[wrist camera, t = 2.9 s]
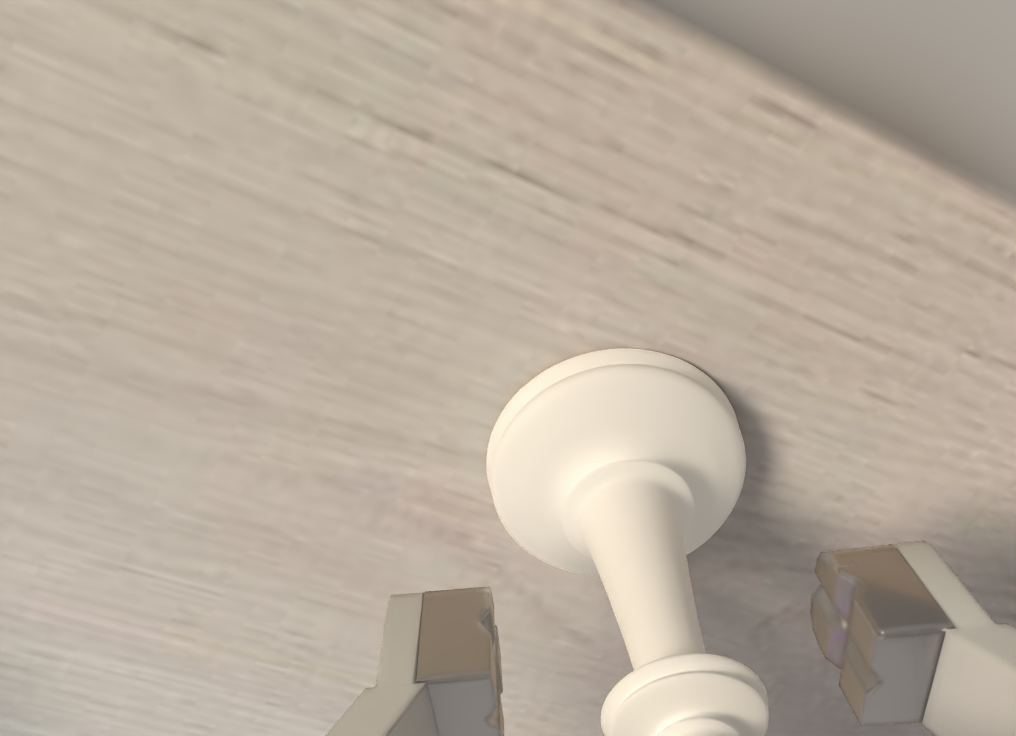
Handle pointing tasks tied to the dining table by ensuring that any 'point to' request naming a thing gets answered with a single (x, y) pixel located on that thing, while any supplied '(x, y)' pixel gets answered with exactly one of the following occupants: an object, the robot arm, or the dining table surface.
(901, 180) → the dining table surface
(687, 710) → the chess piece
